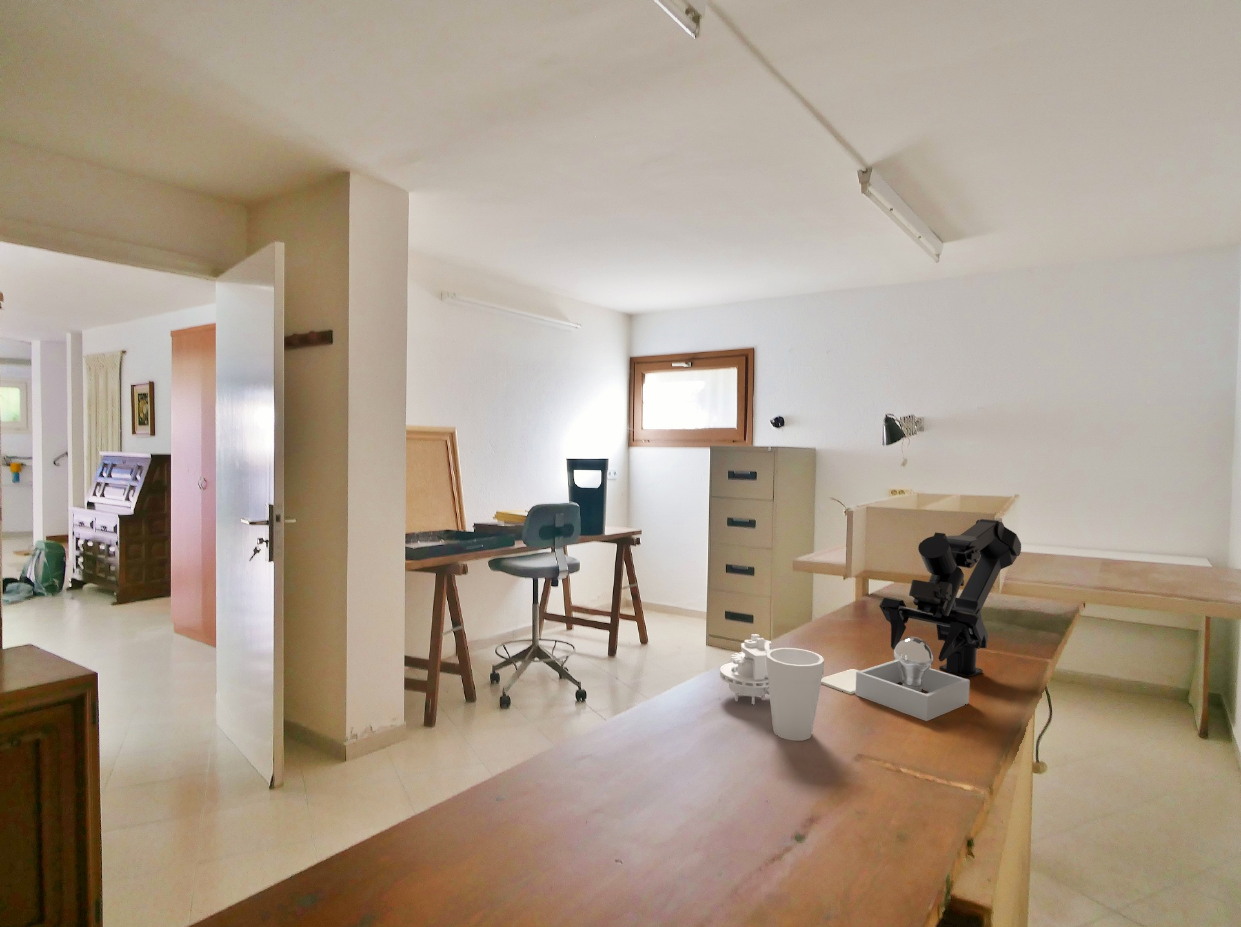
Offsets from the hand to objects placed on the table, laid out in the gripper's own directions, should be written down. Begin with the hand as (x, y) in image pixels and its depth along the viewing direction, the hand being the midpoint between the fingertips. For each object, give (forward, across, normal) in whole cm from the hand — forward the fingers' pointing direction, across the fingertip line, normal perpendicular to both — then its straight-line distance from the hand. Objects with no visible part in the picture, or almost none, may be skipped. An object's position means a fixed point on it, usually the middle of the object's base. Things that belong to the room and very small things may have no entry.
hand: (915, 654), depth 134 cm
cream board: (+7, -12, +5) cm, 15 cm away
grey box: (+7, 0, +5) cm, 9 cm away
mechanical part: (+24, -20, -11) cm, 33 cm away
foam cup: (+28, -7, -16) cm, 33 cm away
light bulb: (+7, 0, +6) cm, 9 cm away
